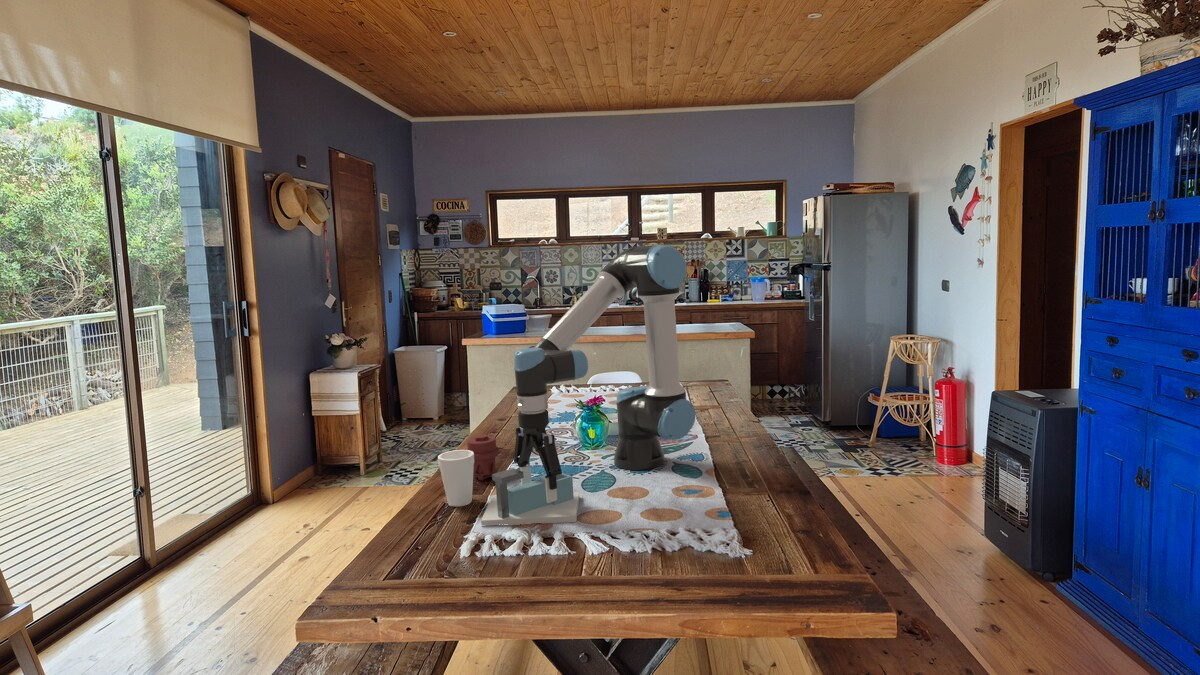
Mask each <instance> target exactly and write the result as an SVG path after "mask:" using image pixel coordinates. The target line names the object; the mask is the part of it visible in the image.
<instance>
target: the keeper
mask: <svg viewBox="0 0 1200 675" xmlns="http://www.w3.org/2000/svg"><path fill="white" fill-rule="evenodd" d="M491 478H492V481H493V482H495V493H496V495H495V496H497V508H498V517H500V518H502V519H504V518H507V517H510V516H509V503H508V490H507V489H508V483H511V482H514V481H518V480H521V479H522V478H524V475H523V472H522V471H520V469H516V468H509V469H506V470H503V471H499V472H495V474H492V476H491Z"/></svg>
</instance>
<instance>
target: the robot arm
mask: <svg viewBox="0 0 1200 675" xmlns="http://www.w3.org/2000/svg"><path fill="white" fill-rule="evenodd" d="M687 270H688V269H687V263H686V259H685V257H684V256H683V254H682V253H681V252H680V251H679V250H678V249H677V248H675V247H674V246H671V245H663V244H657V245H639V246H630V247H629V248H626V249H625V250H623V251H621V252H620V253H619V254H616V256H615V257H614V258H613V259H612V260H610V261H609V262H608V263H607V264H606V265H605V266H604V267H603V268H602V270H600V272H598V274H597V280H596V281H595V282H594V283H593V284H592V285H591V286H590V287H589V288H588V289H587V290H586V291H585V292H584V293H583V294H582V295H581V296H580V297H579V299H578V300H577V301H576V302H575V303H574V304H573V305H572V306H571V307H570V308H569V309H568V310H567V312H565V313H564V314H563V316H562V317H561V318H560V319H559V320H558V321H557V322H556V323H555V324H554V325H553V326H552V327H551V328H550V330H549V331H547V332H546V334H544V336H543V337H541V339H540V340H539V341H538V342H537V343H536V344H535V345H530V346H527V347H525V348H521V349H517V350H516V351H515V353H514V356H513V357H514V359H513V361H514V362H513V363H514V365H513V366H514V368H513V370H514V377H515V387H516V388H515V389H516V398H517V400H516V404H517V410H518V411H519V412H518V413H517V417H518V426H519V427H515V435H516V436H515V445H514V454H513V462H514V463H515V464H516V463H517V466H518V468H519V471H522V472H523V475H524V478H522V479H520V485H523V484H526V483H529V482H532V475H531V474H532V472H531V465H530V464H531V462H530V459H531V456H532V453H533V449H534V450H535V452H536V453H537V454H538V457H539V460H540V461H541V464H542V467H543V470H544V471H545V475H546V476H545V475H544V476H545V487H546V501H547V503H550V502H553V501H556V500H557V481H556V476H557V475H560V474H562V473H563V471H562V468H561V467H562V466H561V463H560V458H559V455H558V452H557V451H558V450H557V447H556V442H555V441H556V440H555V439H556V438H555V435H554V434H553V433H552V434H547V431H546V430H547V429H546V428H547V426H548V425H549V424H550V420H549V418H550V417H549V411H548V410H547V409H548V408H549V403H548V402H549V401H548V400H549V399H548V390H547V389H548V388H547V386H548V385H552V384H556V383H563V382H568V381H575V380H579V379H582V378H584V377H585V376H586V375H587V374H588V371H589V360H588V358H587V355H586V354H585V353H584V352H583V350H581V349H571V348H572V347H573V346H574V344H576V342H577V341H579V339H580V338H581V337H582V336H583V335H584V334H585V333H586V332H587V331H588V329H590V327H591V326H592V325H593V324H594V323H595V322H596V321H597V320H598V319H599V318H600V317H601V316H602V314H603V313H605V311H606V310H607V309H608V308H609V307H610V306H611V305H612V304H613V303H614V302H615V301H616V300H617V299H618V298H623V297H624V296H625V295H626V294H627V293H628V292H629V291H631V290H633V289H636V292H637V297H638V298H639V299H640V300H641V301H642V302H643V313H644V327H645V328H644V329H645V343H646V355H647V357H646V358H647V370H648V371H647V372H648V385H640V386H632V387H627V388H623V389H620V390H619V391H618V392H617V393H616V403H615V404H616V411H617V426H618V427H617V430H618V441H617V445H616V449H615V451H614V456H613V460H614V465H615V467H617V468H620V469H622V470H623V469H624V470H631V471H633V470H634V471H643V470H651V469H655V468H658V467H660V466H662V465H664V464H665V463H666V462H665V453H664V450H663V447H662V445H661V442H660V440H659V437H660V438H661V439H665V440H673V441H676V440H681V439H683V438H684V437H686V436H687V435H688V434H689V433H690V431H691V429H693V427H694V424H695V421H696V418H697V417H696V413H697V412H696V409H695V405H694V404H692V402H691V401H690V400H688V399H687V391H686V390H687V389H686V388H685V387H684V386H683V385H682V384H681V382H680V367H679V366H680V365H679V353H678V352H679V351H678V348H679V347H678V337H677V336H678V335H677V319H676V307H675V306H676V304H675V303H676V302H675V300H676V298H677V297H678V296H679V295H680V287H681V286H682V284H683V283H684V282H685V281H684V280H685V279H686V278H687V273H688V272H687Z"/></svg>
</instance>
